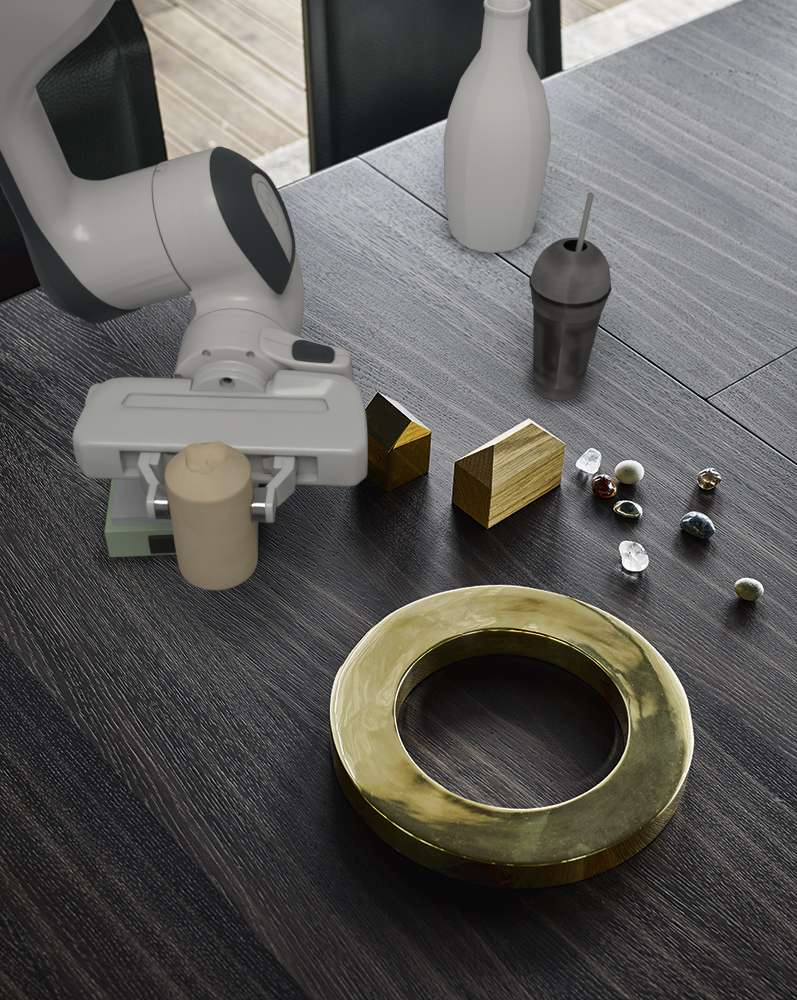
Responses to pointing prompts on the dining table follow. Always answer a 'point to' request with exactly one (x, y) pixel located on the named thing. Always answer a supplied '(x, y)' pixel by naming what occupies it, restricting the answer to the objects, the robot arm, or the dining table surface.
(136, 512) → the scale
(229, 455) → the candle
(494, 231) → the bottle
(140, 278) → the robot arm
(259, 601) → the dining table surface
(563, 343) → the beverage cup
